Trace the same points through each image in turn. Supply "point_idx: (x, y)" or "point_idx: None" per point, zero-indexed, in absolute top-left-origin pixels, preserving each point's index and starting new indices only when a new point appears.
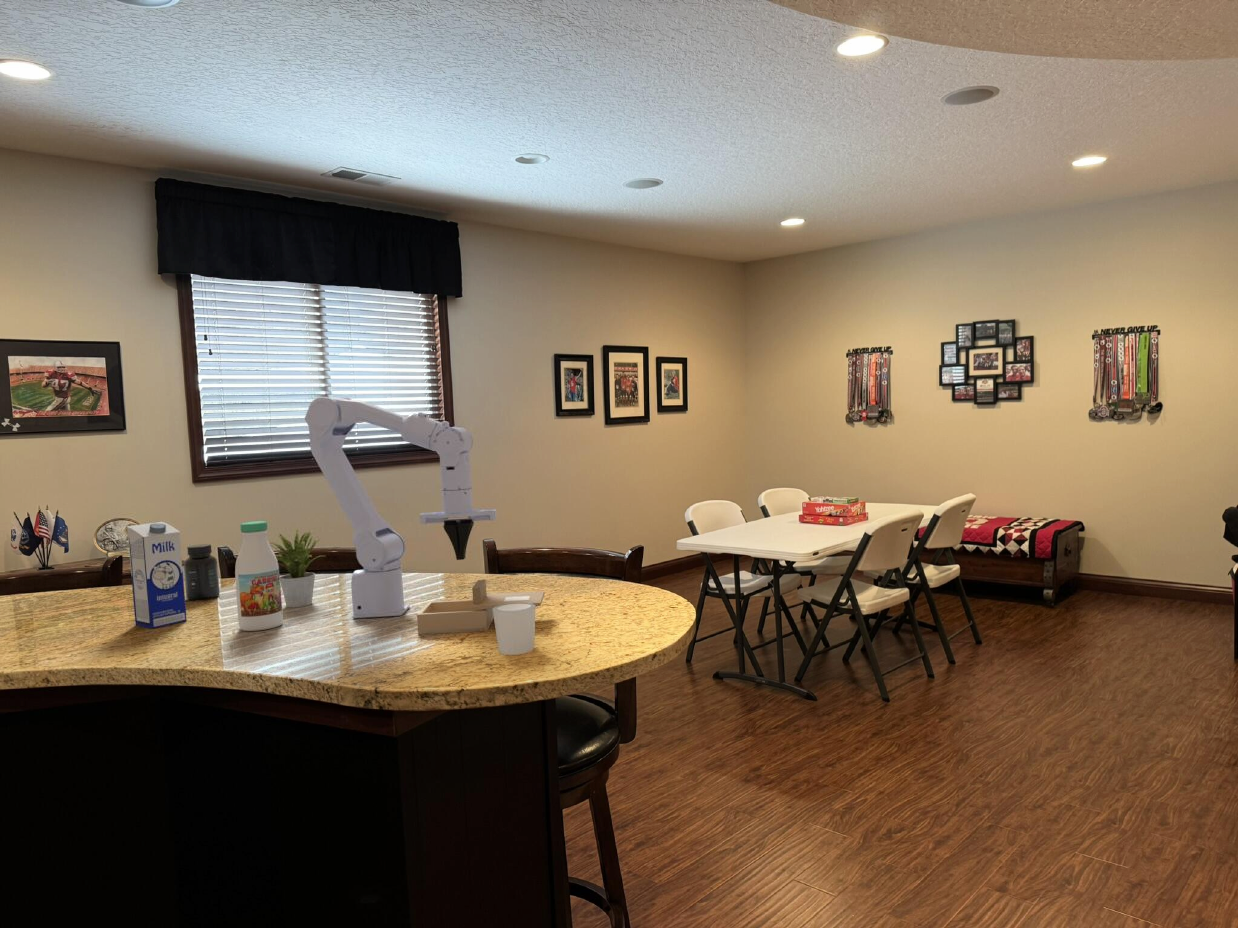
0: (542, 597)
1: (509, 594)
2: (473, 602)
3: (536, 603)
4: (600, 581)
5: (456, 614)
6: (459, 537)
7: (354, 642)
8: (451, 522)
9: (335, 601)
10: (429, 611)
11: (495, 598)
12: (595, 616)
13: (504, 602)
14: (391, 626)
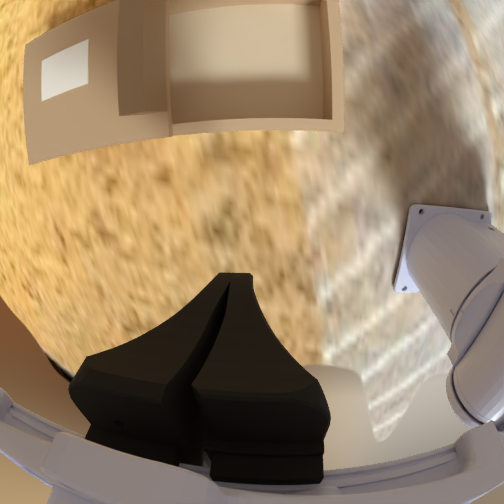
0: (25, 104)
1: (87, 127)
2: (163, 2)
3: (31, 41)
4: (77, 369)
5: None
6: (197, 334)
7: (445, 6)
8: (252, 463)
9: None
10: (328, 84)
11: (113, 76)
12: (3, 138)
13: (87, 32)
14: (415, 106)
